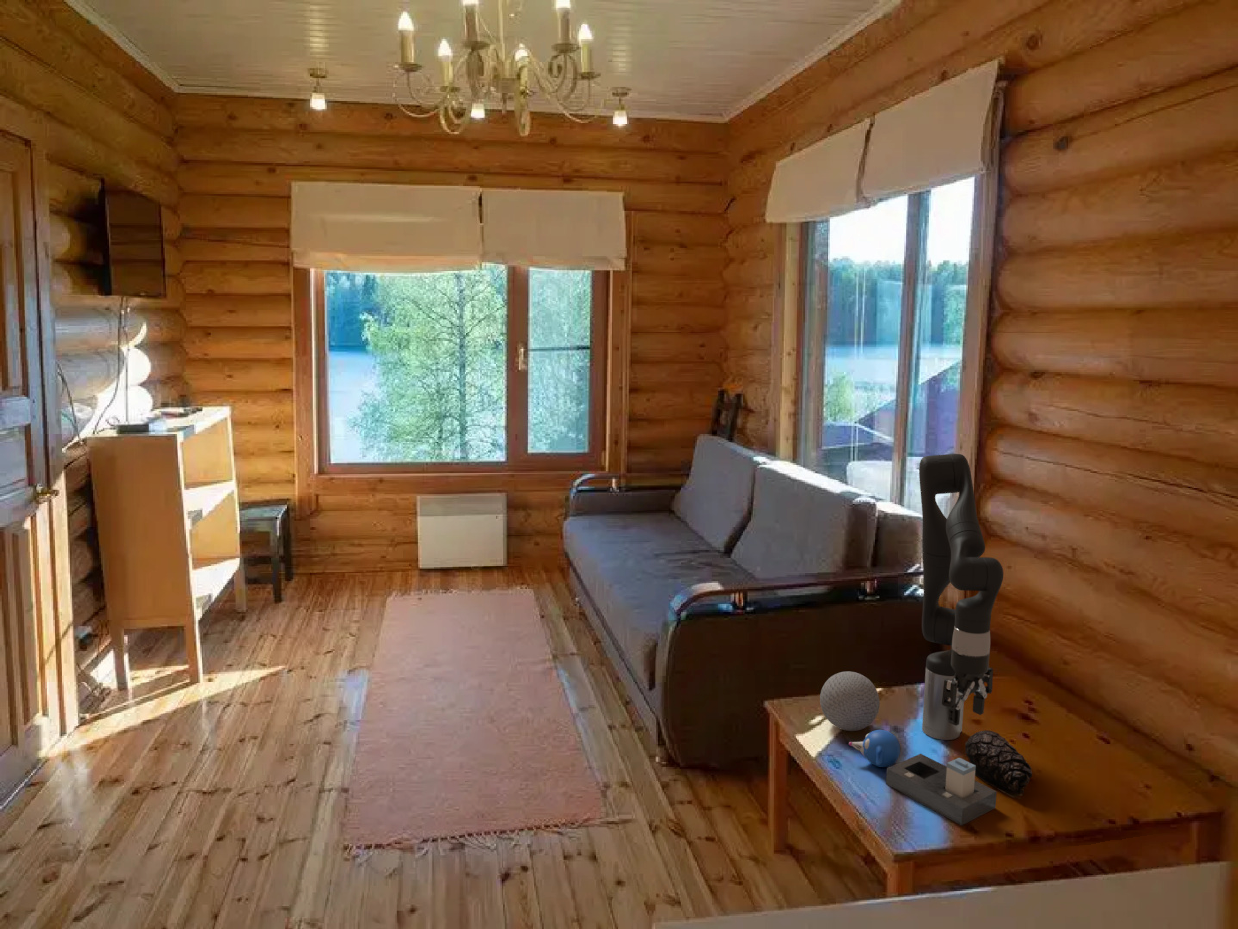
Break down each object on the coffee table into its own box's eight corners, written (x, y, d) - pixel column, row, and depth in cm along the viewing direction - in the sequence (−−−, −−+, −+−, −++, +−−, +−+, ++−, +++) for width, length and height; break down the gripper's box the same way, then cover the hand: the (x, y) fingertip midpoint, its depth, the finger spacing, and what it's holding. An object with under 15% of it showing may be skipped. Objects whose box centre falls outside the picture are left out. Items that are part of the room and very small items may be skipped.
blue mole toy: (849, 748, 222) (851, 716, 220) (899, 755, 218) (901, 723, 217) (846, 771, 210) (847, 738, 209) (898, 780, 207) (900, 746, 205)
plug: (956, 798, 199) (959, 755, 197) (972, 807, 195) (975, 763, 194) (944, 804, 197) (947, 760, 195) (960, 813, 193) (963, 768, 191)
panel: (919, 769, 212) (920, 752, 211) (995, 808, 195) (996, 790, 194) (886, 784, 205) (886, 767, 204) (961, 825, 189) (962, 807, 188)
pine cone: (1015, 803, 197) (1018, 762, 195) (954, 766, 213) (957, 727, 211) (1048, 793, 201) (1052, 752, 200) (986, 757, 217) (989, 719, 215)
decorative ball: (881, 744, 224) (884, 688, 221) (820, 739, 226) (822, 683, 224) (875, 717, 238) (877, 664, 236) (817, 712, 241) (819, 660, 238)
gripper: (975, 635, 196) (970, 703, 199) (934, 649, 188) (930, 720, 191) (1006, 646, 190) (1001, 716, 193) (965, 661, 182) (960, 734, 185)
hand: (965, 718), depth 192 cm, fingers open, 8 cm apart
